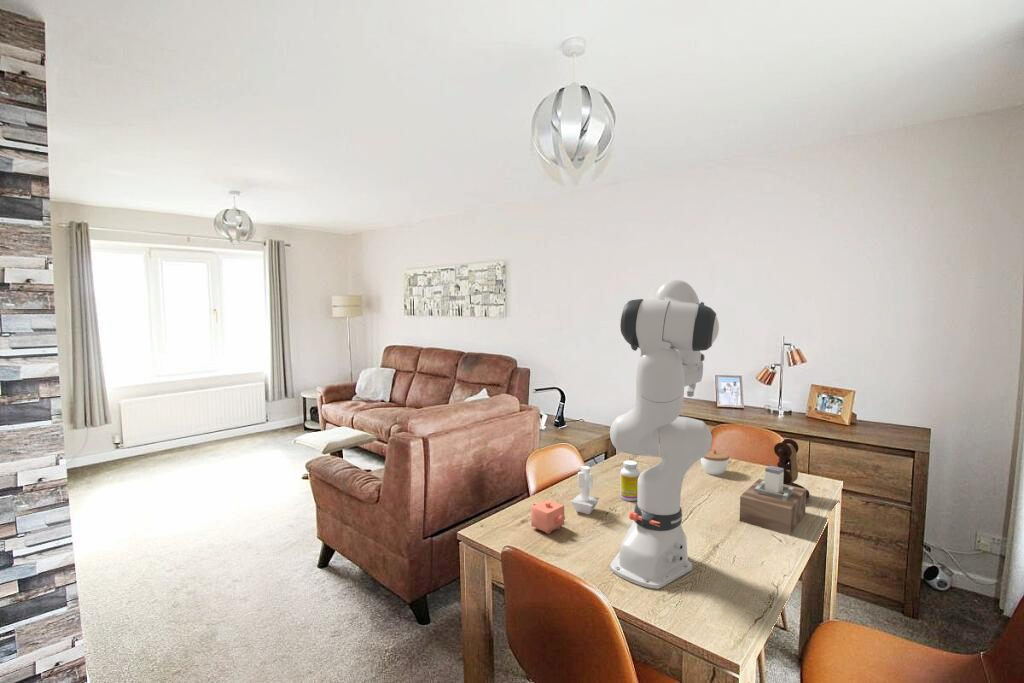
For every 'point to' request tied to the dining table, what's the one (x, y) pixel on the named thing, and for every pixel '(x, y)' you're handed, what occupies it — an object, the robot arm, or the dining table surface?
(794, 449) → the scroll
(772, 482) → the grey white rectangular block
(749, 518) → the block
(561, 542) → the dining table surface
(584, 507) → the figurine
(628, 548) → the robot arm
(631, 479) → the supplement bottle
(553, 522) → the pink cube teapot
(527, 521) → the dining table surface
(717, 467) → the lidded jar
